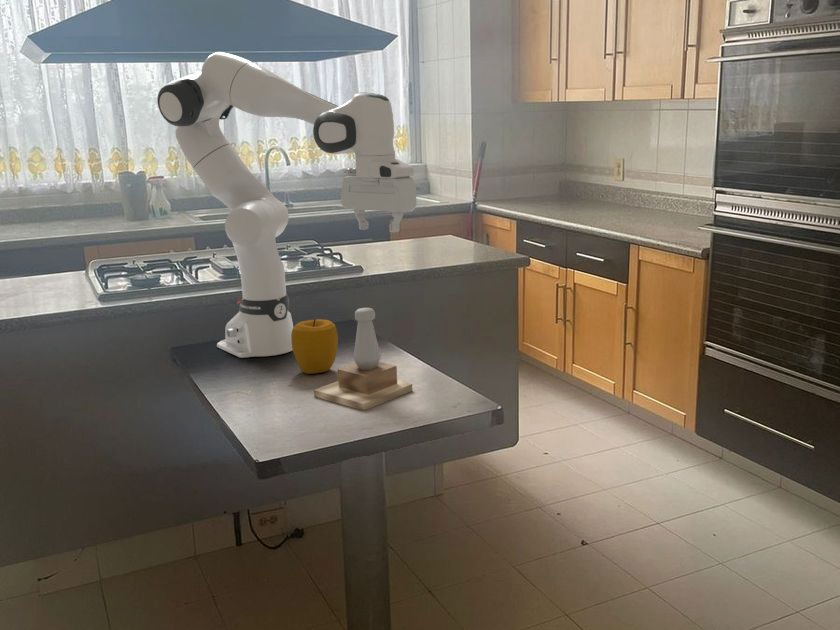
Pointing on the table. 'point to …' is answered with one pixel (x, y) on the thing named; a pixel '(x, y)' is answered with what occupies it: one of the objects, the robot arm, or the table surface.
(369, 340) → the salt shaker
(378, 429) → the table surface
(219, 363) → the table surface
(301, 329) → the apple
